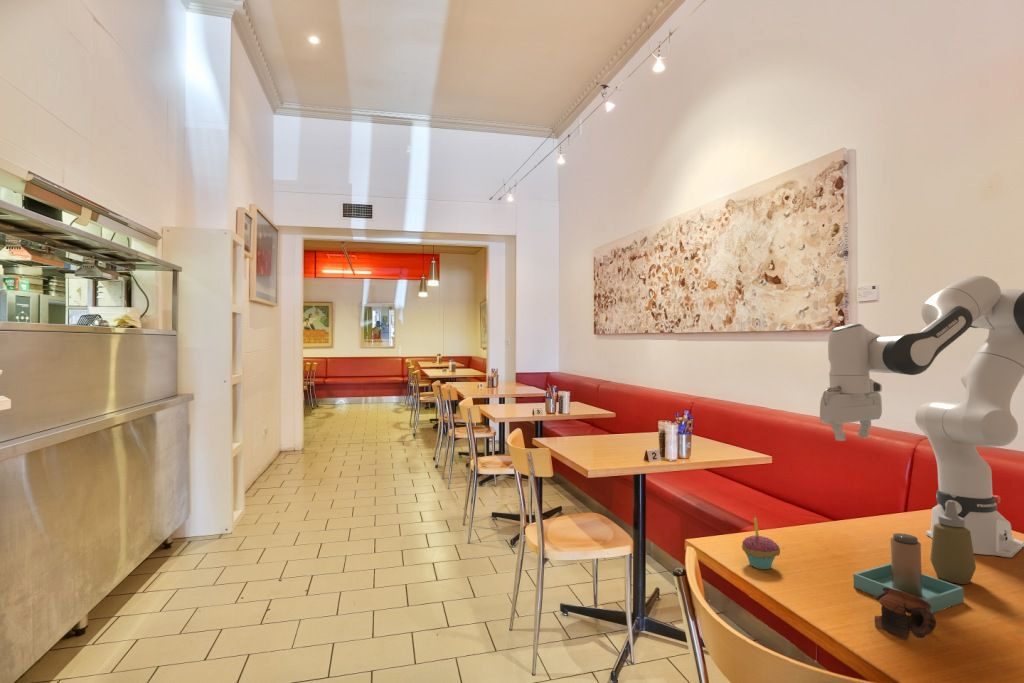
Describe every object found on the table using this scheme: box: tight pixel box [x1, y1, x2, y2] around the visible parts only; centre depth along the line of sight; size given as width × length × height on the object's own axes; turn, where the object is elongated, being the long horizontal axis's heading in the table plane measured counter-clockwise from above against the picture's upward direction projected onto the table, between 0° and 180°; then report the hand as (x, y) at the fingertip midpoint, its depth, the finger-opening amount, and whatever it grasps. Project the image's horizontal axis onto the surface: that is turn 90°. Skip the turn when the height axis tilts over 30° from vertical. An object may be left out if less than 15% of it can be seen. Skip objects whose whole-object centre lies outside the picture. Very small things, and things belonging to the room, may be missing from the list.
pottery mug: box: [874, 588, 937, 642], centre depth 95 cm, size 12×10×8 cm
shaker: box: [890, 533, 923, 598], centre depth 110 cm, size 5×5×12 cm
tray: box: [852, 562, 965, 614], centre depth 110 cm, size 14×14×3 cm
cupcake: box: [741, 514, 781, 570], centre depth 126 cm, size 9×8×12 cm
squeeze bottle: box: [930, 501, 977, 585], centre depth 118 cm, size 8×8×18 cm
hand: (852, 438), depth 132 cm, fingers open, 8 cm apart
